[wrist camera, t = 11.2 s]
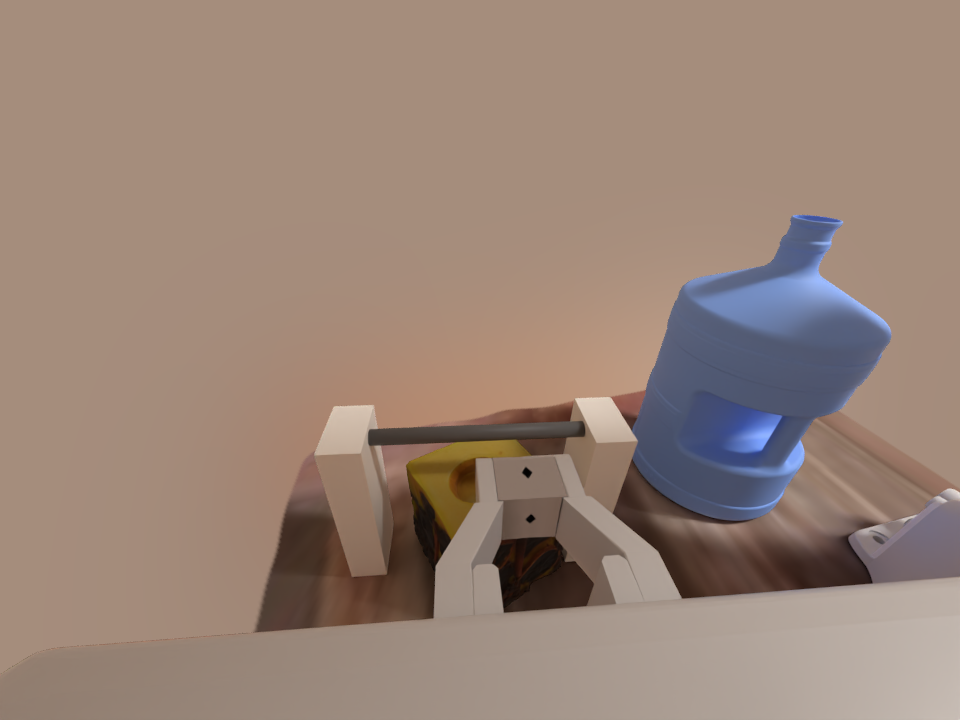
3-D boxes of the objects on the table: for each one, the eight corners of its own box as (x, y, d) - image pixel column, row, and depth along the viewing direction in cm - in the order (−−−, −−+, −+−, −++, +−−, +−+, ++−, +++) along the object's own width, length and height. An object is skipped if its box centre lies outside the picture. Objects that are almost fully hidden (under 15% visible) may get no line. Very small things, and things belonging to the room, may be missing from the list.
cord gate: (579, 511, 37) (610, 397, 29) (596, 559, 33) (638, 441, 25) (363, 524, 36) (333, 406, 28) (352, 577, 31) (313, 455, 23)
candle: (562, 568, 33) (581, 497, 27) (465, 638, 28) (466, 568, 23) (497, 488, 40) (503, 419, 34) (412, 533, 35) (403, 461, 30)
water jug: (604, 428, 48) (666, 203, 33) (707, 416, 51) (807, 202, 36) (679, 536, 35) (834, 247, 20) (812, 513, 38) (1035, 241, 23)
